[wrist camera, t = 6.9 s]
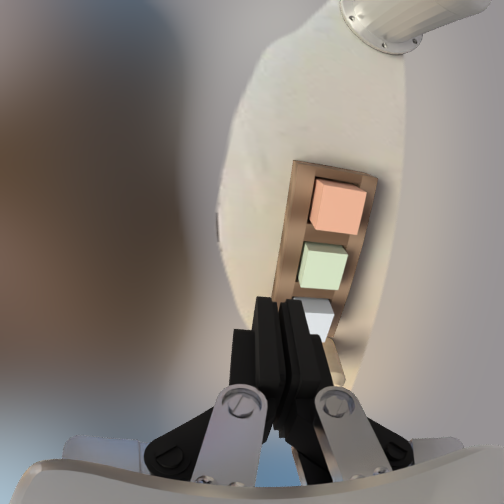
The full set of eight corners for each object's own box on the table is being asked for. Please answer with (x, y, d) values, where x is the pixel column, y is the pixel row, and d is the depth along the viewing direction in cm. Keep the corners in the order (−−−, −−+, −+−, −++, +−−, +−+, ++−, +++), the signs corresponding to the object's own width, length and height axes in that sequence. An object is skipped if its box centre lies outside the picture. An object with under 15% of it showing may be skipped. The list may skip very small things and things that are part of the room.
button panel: (293, 160, 34) (298, 163, 30) (365, 173, 34) (377, 178, 31) (267, 317, 44) (268, 334, 40) (328, 321, 44) (333, 336, 41)
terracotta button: (314, 177, 32) (324, 185, 28) (353, 184, 33) (366, 192, 28) (308, 217, 34) (315, 229, 30) (345, 222, 35) (357, 234, 31)
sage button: (302, 236, 37) (308, 250, 33) (338, 240, 37) (348, 254, 33) (295, 270, 39) (300, 287, 35) (329, 273, 39) (338, 290, 35)
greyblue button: (292, 292, 39) (297, 311, 35) (326, 295, 39) (334, 314, 35) (286, 320, 41) (289, 341, 37) (318, 322, 41) (324, 342, 37)
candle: (327, 359, 48) (338, 401, 39) (299, 356, 48) (307, 400, 38) (338, 337, 46) (353, 380, 37) (309, 333, 45) (320, 378, 36)
